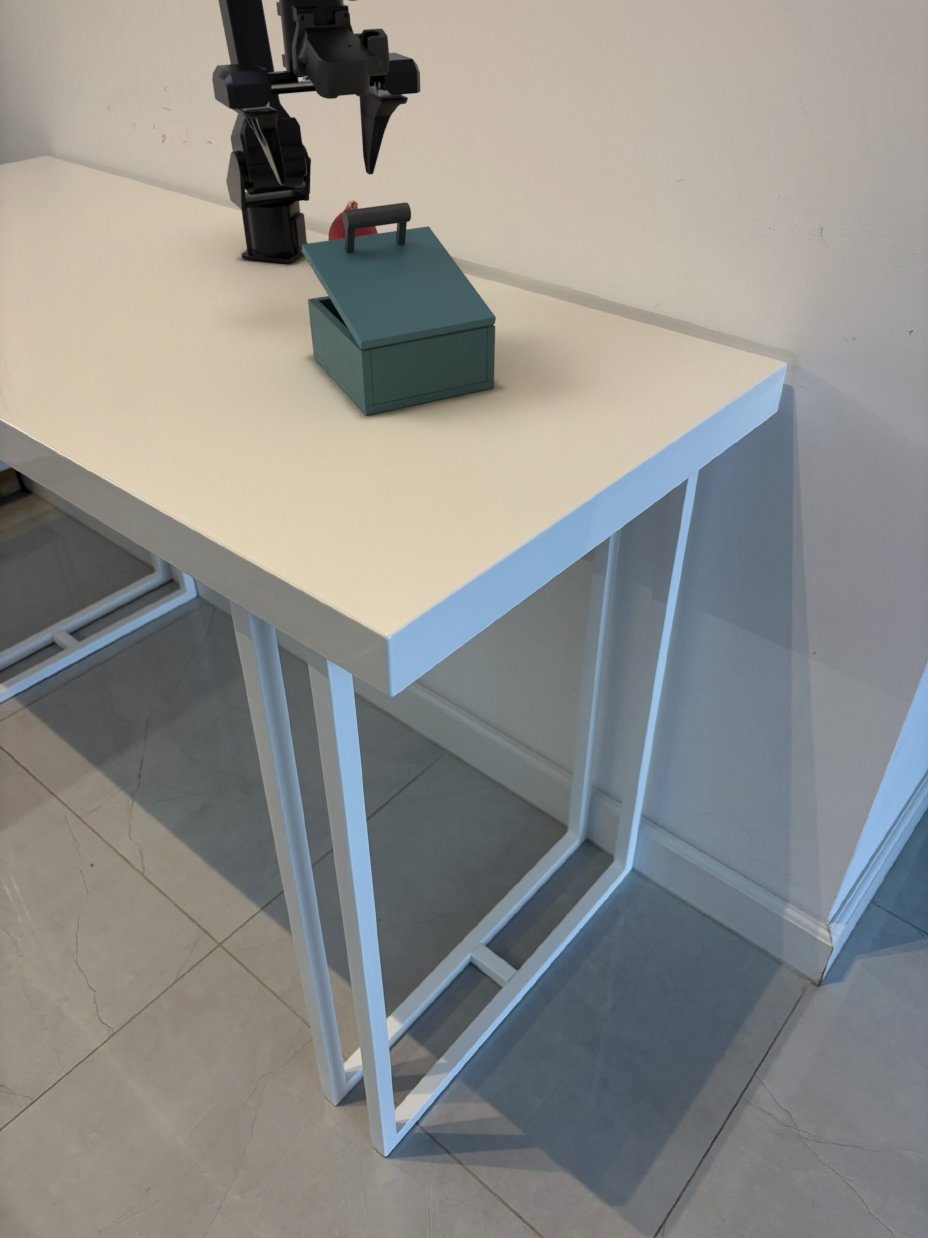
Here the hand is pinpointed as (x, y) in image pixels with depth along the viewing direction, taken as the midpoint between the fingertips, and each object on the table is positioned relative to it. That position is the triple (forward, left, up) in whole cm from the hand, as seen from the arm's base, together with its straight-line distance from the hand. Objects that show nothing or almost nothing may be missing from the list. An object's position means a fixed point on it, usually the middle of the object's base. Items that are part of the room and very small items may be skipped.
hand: (326, 178), depth 93 cm
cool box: (+12, -14, -13) cm, 23 cm away
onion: (-2, +11, -13) cm, 17 cm away
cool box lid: (+12, -14, -5) cm, 19 cm away
